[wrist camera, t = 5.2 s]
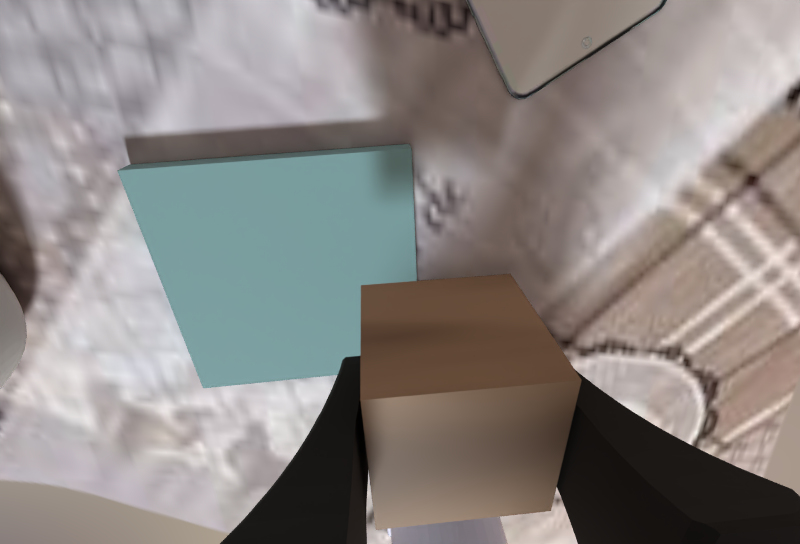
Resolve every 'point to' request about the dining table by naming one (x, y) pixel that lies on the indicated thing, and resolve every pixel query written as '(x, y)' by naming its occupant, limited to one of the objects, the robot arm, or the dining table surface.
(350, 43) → the dining table surface
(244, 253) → the teal square plate
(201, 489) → the dining table surface
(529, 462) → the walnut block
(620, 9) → the smartphone
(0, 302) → the teacup
